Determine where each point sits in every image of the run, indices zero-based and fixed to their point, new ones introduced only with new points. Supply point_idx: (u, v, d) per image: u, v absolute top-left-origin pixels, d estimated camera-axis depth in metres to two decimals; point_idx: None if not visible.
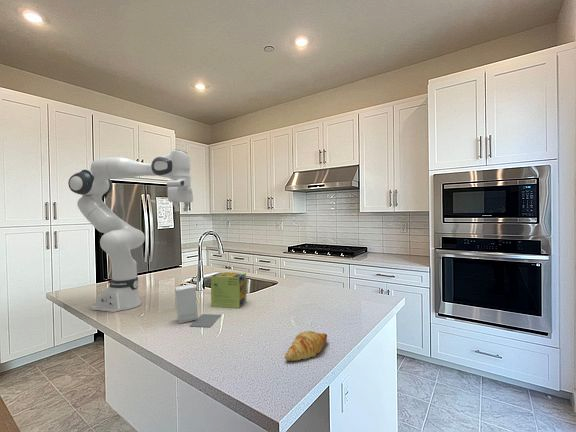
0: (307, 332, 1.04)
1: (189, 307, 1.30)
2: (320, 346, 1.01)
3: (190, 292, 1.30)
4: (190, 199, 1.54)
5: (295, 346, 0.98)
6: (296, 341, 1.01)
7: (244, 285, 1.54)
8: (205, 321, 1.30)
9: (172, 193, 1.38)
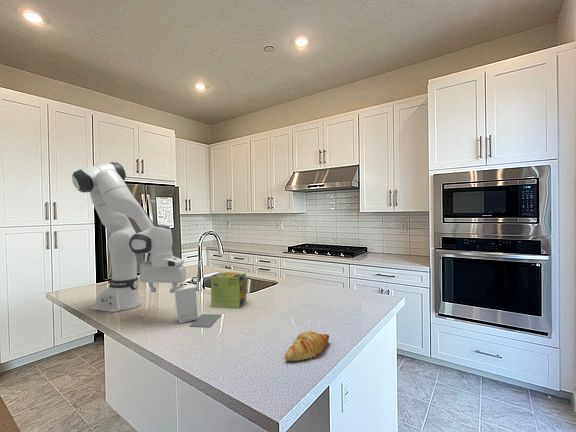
0: (308, 332, 1.03)
1: (189, 307, 1.30)
2: (321, 347, 1.01)
3: (190, 292, 1.30)
4: None
5: (295, 346, 0.98)
6: (296, 341, 1.00)
7: (244, 285, 1.54)
8: (205, 321, 1.30)
9: (184, 273, 1.32)
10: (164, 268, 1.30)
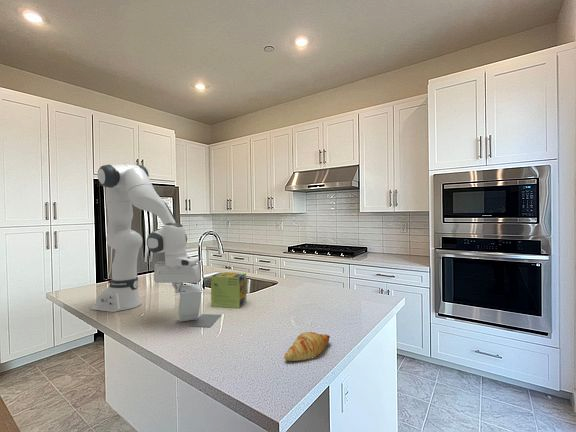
0: (308, 333, 1.03)
1: (191, 309, 1.29)
2: (321, 347, 1.00)
3: (195, 295, 1.27)
4: None
5: (295, 346, 0.98)
6: (296, 341, 1.00)
7: (244, 285, 1.54)
8: (205, 321, 1.30)
9: (198, 272, 1.28)
10: (178, 267, 1.26)
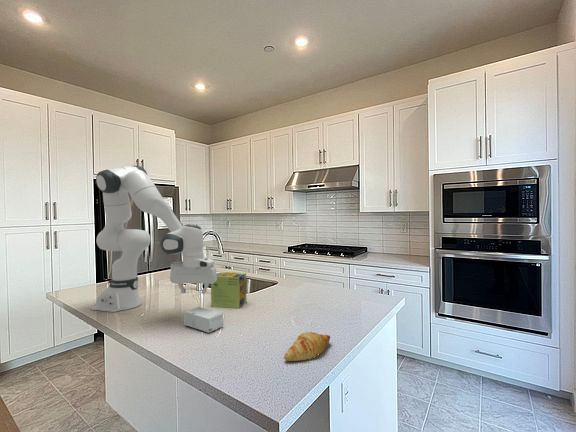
0: (308, 333, 1.03)
1: None
2: (321, 347, 1.00)
3: None
4: None
5: (295, 346, 0.98)
6: (296, 341, 1.00)
7: (244, 285, 1.54)
8: None
9: (215, 274, 1.31)
10: (196, 268, 1.29)
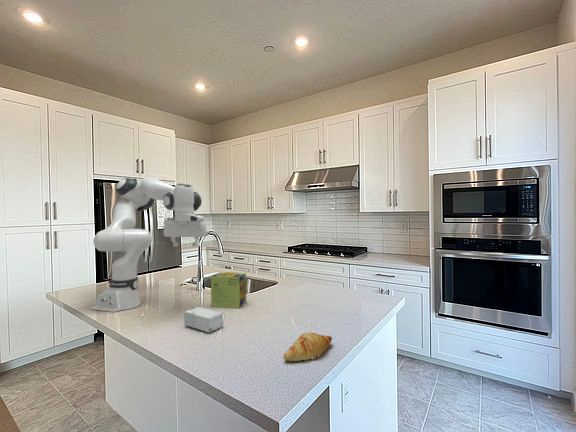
0: (309, 333, 1.03)
1: None
2: (321, 348, 0.99)
3: None
4: None
5: (295, 347, 0.98)
6: (297, 342, 1.00)
7: (244, 285, 1.54)
8: None
9: (205, 229, 1.44)
10: (187, 223, 1.42)
